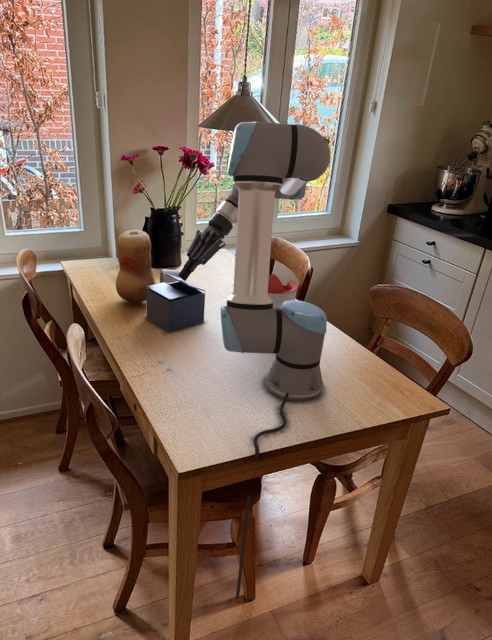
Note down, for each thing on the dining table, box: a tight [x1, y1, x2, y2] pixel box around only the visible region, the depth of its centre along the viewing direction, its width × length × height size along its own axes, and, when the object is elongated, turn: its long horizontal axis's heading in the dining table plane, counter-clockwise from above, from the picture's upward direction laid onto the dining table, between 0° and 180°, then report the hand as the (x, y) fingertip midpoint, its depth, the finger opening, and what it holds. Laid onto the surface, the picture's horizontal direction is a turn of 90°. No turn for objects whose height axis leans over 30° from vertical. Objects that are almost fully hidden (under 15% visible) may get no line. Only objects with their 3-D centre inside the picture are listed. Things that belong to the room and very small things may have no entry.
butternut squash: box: [115, 229, 156, 305], centre depth 182 cm, size 14×13×25 cm
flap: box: [166, 274, 206, 292], centre depth 173 cm, size 7×13×1 cm, turn 40°
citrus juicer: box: [268, 273, 299, 308], centre depth 168 cm, size 16×17×20 cm
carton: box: [145, 281, 206, 334], centre depth 174 cm, size 14×13×11 cm
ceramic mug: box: [159, 268, 181, 284], centre depth 200 cm, size 11×8×8 cm
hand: (181, 278), depth 171 cm, fingers closed
